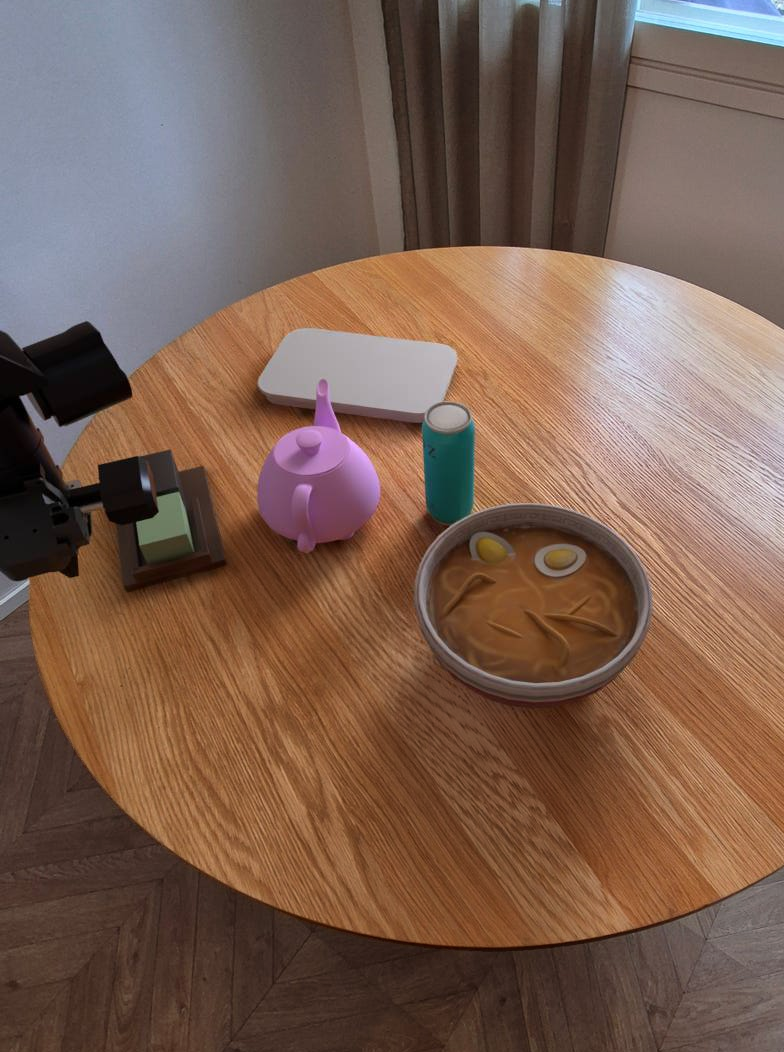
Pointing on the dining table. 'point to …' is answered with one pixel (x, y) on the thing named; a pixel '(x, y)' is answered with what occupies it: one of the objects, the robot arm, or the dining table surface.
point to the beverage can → (448, 461)
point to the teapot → (317, 482)
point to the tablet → (359, 373)
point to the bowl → (532, 604)
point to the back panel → (200, 519)
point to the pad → (166, 531)
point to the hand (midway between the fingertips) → (74, 573)
